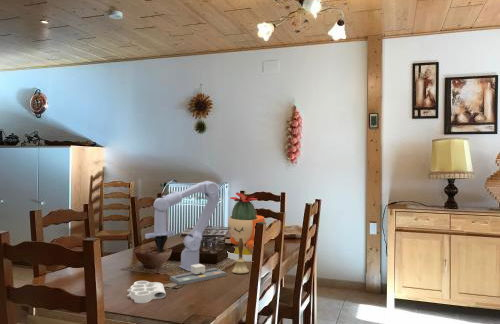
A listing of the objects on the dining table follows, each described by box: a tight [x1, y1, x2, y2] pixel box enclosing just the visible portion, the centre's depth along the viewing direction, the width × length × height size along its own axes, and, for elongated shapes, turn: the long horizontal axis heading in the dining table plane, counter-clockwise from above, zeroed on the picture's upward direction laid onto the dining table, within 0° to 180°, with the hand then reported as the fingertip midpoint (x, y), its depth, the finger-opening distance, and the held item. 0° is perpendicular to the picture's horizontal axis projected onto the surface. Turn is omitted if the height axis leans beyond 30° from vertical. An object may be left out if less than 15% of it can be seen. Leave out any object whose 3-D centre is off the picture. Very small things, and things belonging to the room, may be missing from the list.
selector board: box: [169, 267, 227, 286], centre depth 187 cm, size 9×24×2 cm, turn 128°
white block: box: [190, 263, 206, 274], centre depth 187 cm, size 7×5×3 cm
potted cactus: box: [227, 192, 266, 263], centre depth 228 cm, size 22×22×35 cm
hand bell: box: [231, 238, 250, 274], centre depth 198 cm, size 8×8×16 cm
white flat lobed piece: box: [126, 280, 167, 304], centre depth 164 cm, size 3×18×15 cm
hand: (160, 251), depth 196 cm, fingers closed
